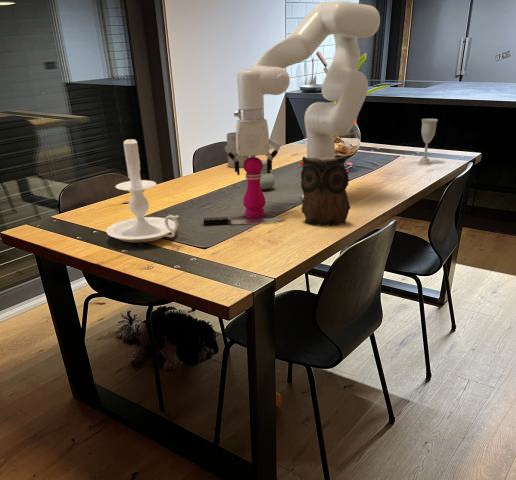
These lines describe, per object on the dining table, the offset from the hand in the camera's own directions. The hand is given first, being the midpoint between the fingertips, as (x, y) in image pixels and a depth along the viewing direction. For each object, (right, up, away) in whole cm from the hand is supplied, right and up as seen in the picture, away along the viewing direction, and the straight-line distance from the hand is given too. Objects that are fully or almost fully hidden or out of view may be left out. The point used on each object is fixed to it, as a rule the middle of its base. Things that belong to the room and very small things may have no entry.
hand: (253, 173), depth 169 cm
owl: (+23, -15, 0) cm, 28 cm away
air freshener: (+3, +6, +37) cm, 38 cm away
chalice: (+75, +25, +66) cm, 103 cm away
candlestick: (-31, -23, -10) cm, 40 cm away
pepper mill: (0, -12, +7) cm, 14 cm away
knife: (-3, -15, +1) cm, 16 cm away
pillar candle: (-7, +27, +74) cm, 79 cm away
